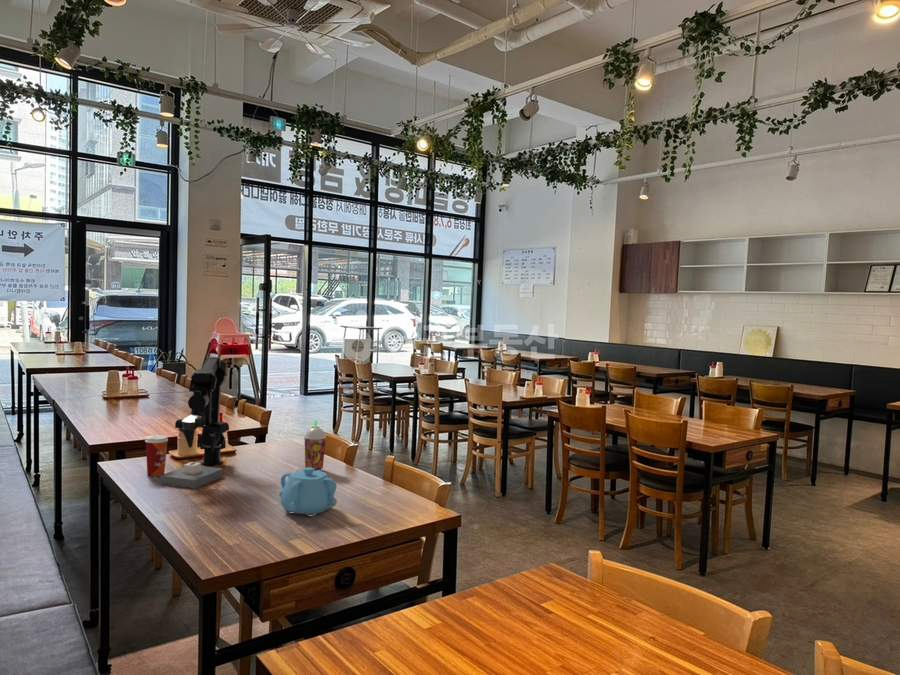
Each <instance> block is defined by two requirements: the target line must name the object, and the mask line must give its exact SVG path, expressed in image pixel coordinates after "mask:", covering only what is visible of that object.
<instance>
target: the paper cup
mask: <svg viewBox="0 0 900 675" xmlns="http://www.w3.org/2000/svg"><path fill="white" fill-rule="evenodd" d="M144 442H145V447H146V449H145V450H146V452H145V453H146V454H145V455H146V473H147V474H146V475H147V477H150V476H158V477H160V475H163V474H165V470H166V462H167V460H166V459H167V450H168V442H169V438H168V436H167V435H162V434H161V435H160V434H156V435H149V436H146V438H145V440H144Z"/></svg>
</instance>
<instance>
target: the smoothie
mask: <svg viewBox="0 0 900 675" xmlns="http://www.w3.org/2000/svg"><path fill="white" fill-rule="evenodd" d="M317 422H318V421H317V419H316V420H315V419H314V427H311V428H309V429H308V430H307V431H306V433H305V435H304V436H303V438H304V468H307V467H311V468H314V471H317V470H321V469H323V468H324V461H325V452H326V451H325V449H326V441H327V440H326V439H327V435H326V433H325V431H324V430H323V429H322V428H320V427H318V425H317V424H318V423H317ZM321 471H322V470H321Z"/></svg>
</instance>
